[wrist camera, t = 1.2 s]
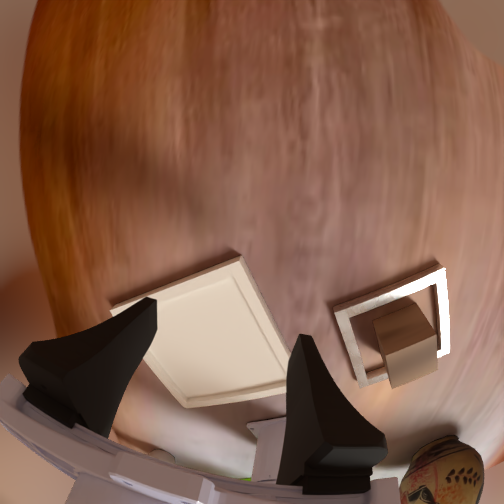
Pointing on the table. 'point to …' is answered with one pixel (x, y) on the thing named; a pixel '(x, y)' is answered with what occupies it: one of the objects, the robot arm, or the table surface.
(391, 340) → the walnut block
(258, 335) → the tray
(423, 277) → the frame
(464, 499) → the ceramic jug
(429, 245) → the table surface
